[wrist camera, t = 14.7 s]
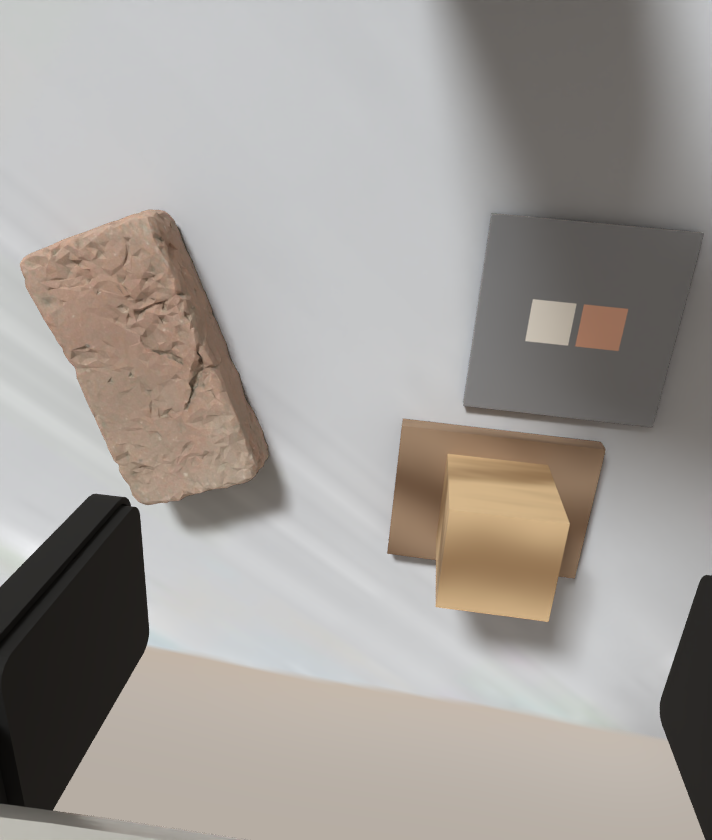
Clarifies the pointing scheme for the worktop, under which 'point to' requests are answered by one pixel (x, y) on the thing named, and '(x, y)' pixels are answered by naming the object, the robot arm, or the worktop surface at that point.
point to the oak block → (499, 538)
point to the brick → (148, 356)
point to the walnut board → (432, 442)
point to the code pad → (578, 318)
